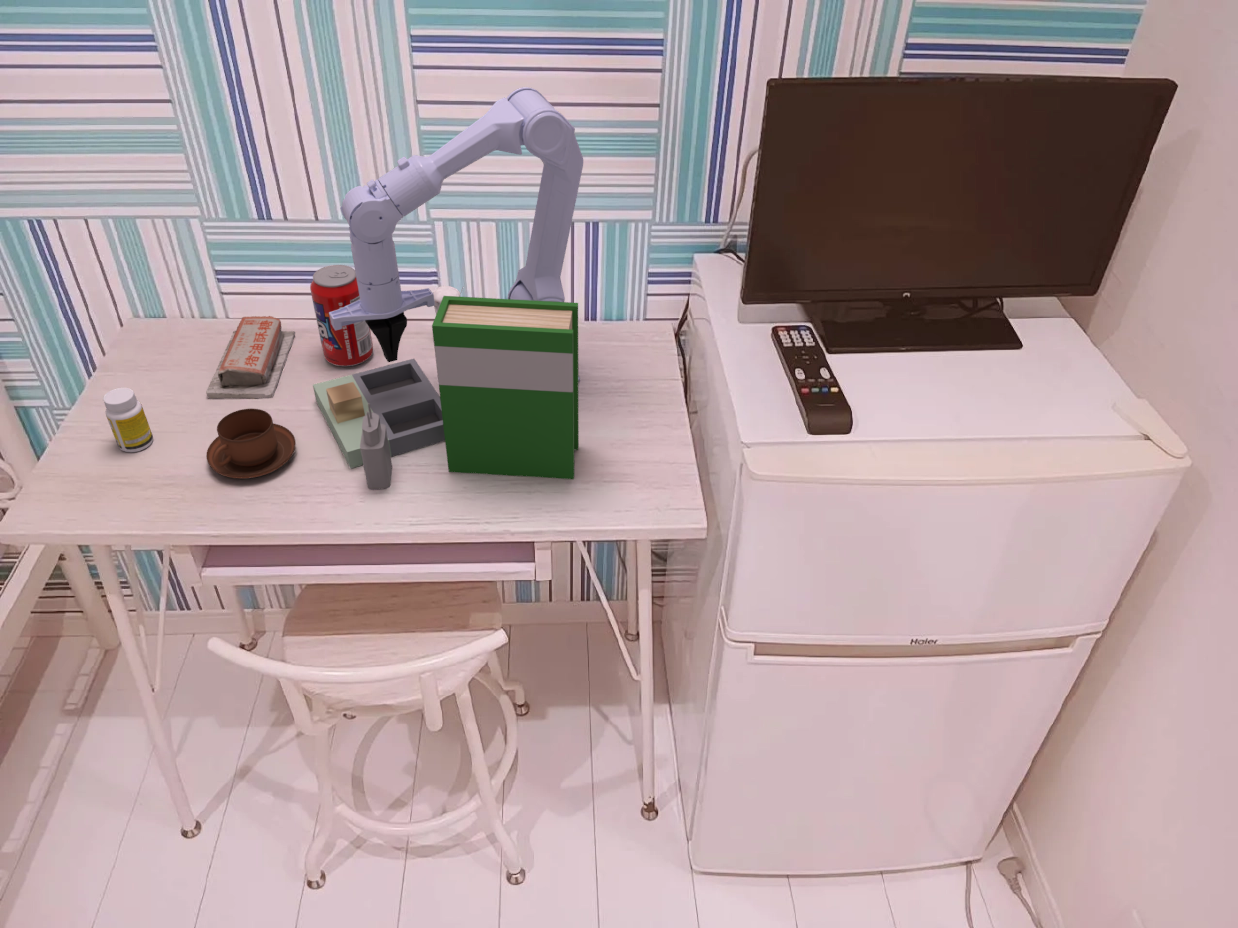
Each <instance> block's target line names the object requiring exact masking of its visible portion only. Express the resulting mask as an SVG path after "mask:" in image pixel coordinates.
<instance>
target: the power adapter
mask: <svg viewBox="0 0 1238 928" xmlns="http://www.w3.org/2000/svg"><path fill="white" fill-rule="evenodd" d="M368 408H369V412H368V411H367V415H365V416H364V417H363V423H362V436H361V442H360V449H361V455H362V460H363V465H362V466H363V470H364V475H365V480H366V486H367V489H368V490H373V491H374V490H387V489H389V488H390V487H391V483H392V476H393V475H392V473H393V463H392V457H391V455H390V449H389V443H388V437H387V431H386V426H385V425H384V424H380V419H379V415H377V414H375V413H373V412H371V408H370V403H368Z"/></svg>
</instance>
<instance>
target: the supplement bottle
mask: <svg viewBox="0 0 1238 928" xmlns="http://www.w3.org/2000/svg"><path fill="white" fill-rule="evenodd" d="M102 401H103V403H104V406H105V412H104V413H105V417H106V418H107V422H108V424H109V426H110V429H111V431H112V434H113V438H114V439H115V442H116V444H117V447H118V448H119V449H120V451H123V452H126V453H137V452H140V451H144V450H146V448H148V447H149V446H151V445H152V443H153V442H154V436H153V435H154V434H153V433H152V430H151V428H150V425H149V421H148V418H147V416H146V414H145V411H144V408H143V405H142V404H141V402H140V401H139V400H138V399H137V396H136V395H135V392H134V390H133V389H131V388H129V387H117V388H114V389H111V390H109V391H107V392H106V393H105V394H104V396H103V399H102Z"/></svg>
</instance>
